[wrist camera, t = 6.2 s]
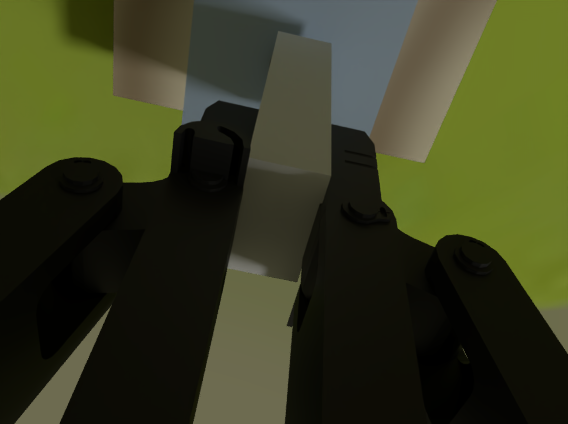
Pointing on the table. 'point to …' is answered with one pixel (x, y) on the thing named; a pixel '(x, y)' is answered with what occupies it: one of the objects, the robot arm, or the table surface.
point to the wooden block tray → (399, 94)
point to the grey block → (303, 22)
